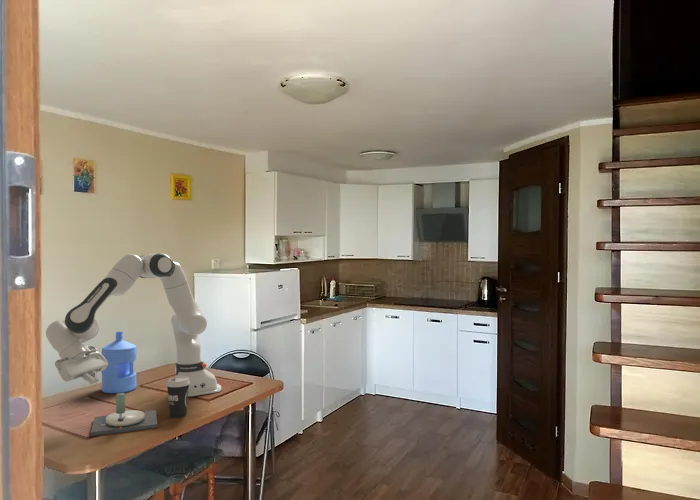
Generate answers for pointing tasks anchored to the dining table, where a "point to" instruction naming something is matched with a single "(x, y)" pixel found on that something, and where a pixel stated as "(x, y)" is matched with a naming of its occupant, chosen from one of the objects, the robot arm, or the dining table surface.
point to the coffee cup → (178, 396)
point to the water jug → (119, 366)
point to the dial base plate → (103, 428)
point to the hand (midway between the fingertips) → (95, 382)
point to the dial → (124, 414)
